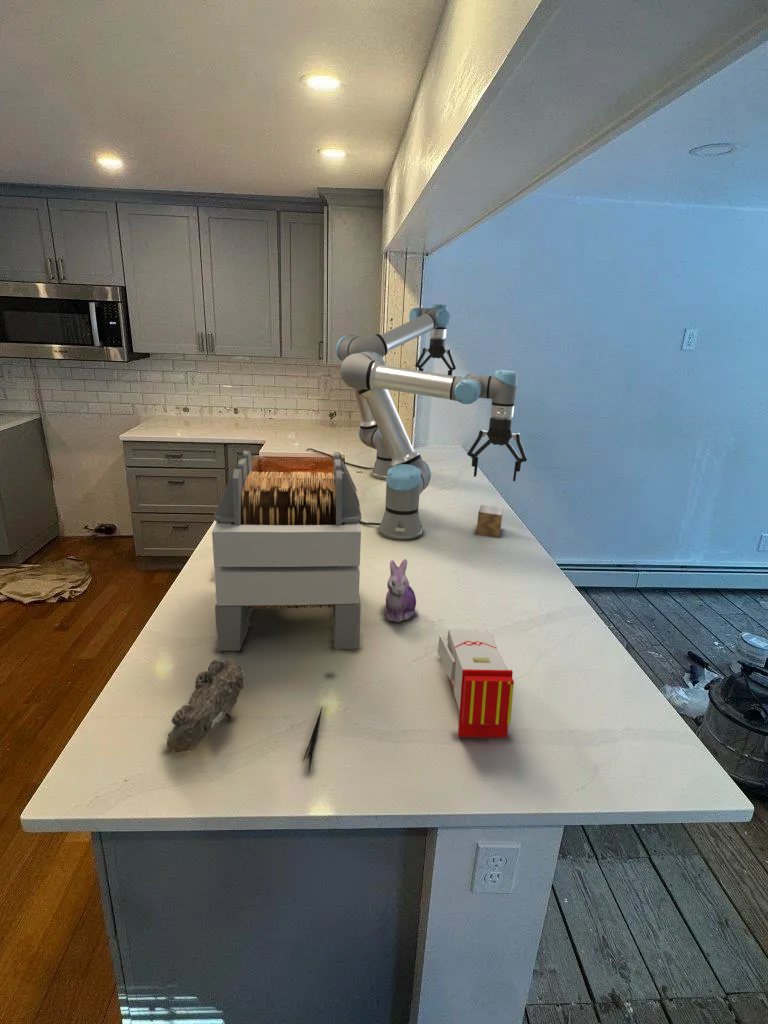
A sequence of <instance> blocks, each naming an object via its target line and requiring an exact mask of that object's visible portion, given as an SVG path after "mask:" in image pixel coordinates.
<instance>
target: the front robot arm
mask: <svg viewBox="0 0 768 1024" xmlns="http://www.w3.org/2000/svg"><path fill="white" fill-rule="evenodd" d="M339 371H340V372H339V373H340V377H341V380H342V381H343V383H345V384H346V385H347V386H348V387H350V388H352V389H353V388H356V389H357V391H358V393H359V395H360V396H361V397H363V398H365V399H366V401H367V403H368V405H369V408H370V410H371V412H372V415H373V417H374V419H375V421H376V424H377V426H378V428H379V431H380V433H381V435H382V437H383V440H384V442H385V444H386V447H387V449H388V451H389V453H390V456H391V458H392V462H391V465H390V466H391V468H390V469H389V470H388V472H387V477H386V480H385V483H386V484H385V504H384V505H385V507H384V508H385V509H384V513H383V515H382V519H381V522H370V521H369V522H367V521H362V520H361V521H359V524H360V525H365V526H378V533H379V534H380V535H381V536H382V537H385V538H387V539H389V540H395V541H410V540H415V539H418V538H420V537H421V536H422V535H423V525H422V524H421V518H420V515H419V507H420V506H419V505H420V496H421V494H422V493H423V492H424V490H426V489H427V488H428V486H429V484H430V482H431V480H432V471H431V467H430V466H429V464H428V463H427V462H426V461H425V460H423V458H422V455H421V453H420V452H419V451H417V450H414V447H413V445H412V443H411V440H410V437H409V436H408V434H407V430H406V429H405V427H404V424H403V422H402V419H401V418H400V415H399V413H398V410H397V408H396V406H395V403H394V401H393V398H392V396H391V394H390V392H389V391H394V392H400V393H406V394H413V395H418V396H423V397H424V396H425V397H432V398H438V399H443V400H450V401H454V402H458V403H460V404H461V405H472V404H473V403H475V402H477V400H478V399H486V400H491V405H490V406H491V407H490V417H489V423H488V424H489V425H488V430H484V429H480V430H478V435H477V437H476V439H475V440H474V442H473V443H472V444H471V445H472V446H470V448H469V450H468V452H467V454H466V455H467V456H468V457H471V467H474V468H473V477H474V478H476V477H477V475H478V466H479V455H480V454H481V453H482V452H483V451H484V450H485V449H486V448H488V446H490V445H491V444H492V445H494V446H497V445H498V446H502V447H503V446H505V447H506V448H507V449H508V451H509V452H510V453H511V455H512V457H514V459H515V463H514V470H513V476H512V477H513V478H512V482H516V480H517V479H516V478H517V472H520V471H521V467H522V463H524V462H527V461H528V456H527V454H526V451H525V448H524V446H523V443H522V440H521V433H520V432H517V433H512V427H513V417H514V412H515V410H514V409H515V401H516V396H517V395H516V394H517V387H518V373H517V372H516V371H513V370H507V369H505V370H503V369H498V370H496V371H495V372H494V374H493V375H483V374H482V375H481V374H471V373H461V374H459V375H458V376H455V375H452V376H450V375H448V374H442V373H438V372H437V373H436V372H429V371H424V370H423V371H419V369H410V368H404V367H398V366H391V365H387V364H386V362H385V360H384V359H383V357H381V356H380V355H378V354H376V353H374V352H370V351H364V352H361V353H355V354H351V355H349V356H348V357H346V358H345V359H344V361H343V362H342V361H341V365H340V370H339ZM485 436H487V438H488V439H487V440H486V441H485V442H484V443H483V444H482V445H481V446H480V447H479V448H478V449H477V450H476V451H475V449H476V447H477V446H478V444H479V443H480V441H481V440H482V438H484V437H485ZM512 438H513V440H514V441H515V442H516V445H517V447H518V451H519V453H520V455H521V456H520V455H519V453H518V452H517V450H516V449H515V447H514V446H513V444H512V443H511V441H510V440H511V439H512Z"/></svg>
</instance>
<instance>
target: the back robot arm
mask: <svg viewBox="0 0 768 1024" xmlns="http://www.w3.org/2000/svg"><path fill="white" fill-rule="evenodd" d="M408 315H409V316H408V319H409V321H407V322H405V323H403V324H401V325H398V326H397V327H394V328H392V329H389V330H388V331H386V332H384V333H382V334H380V333H376V334H374V335H371V336H358V335H354V334H348V335H344V336H341V337H340V338H339V339H338V341H337V342H336V345H335V355H336V356H337V358H338V359H339V360H340V361H341V363H342V362H343V361H344V359H345V358H346V357H348V356H349V355H351V354H355V353H361V352H364V351H370V352H374V353H376V354H378V355H380V356H381V357H382V358H383V357H385V356H387V355H388V353H389V351H391V350H394V349H395V348H398V347H399V346H402V345H404V344H406V343H408V342H410V341H412V340H415V339H416V338H419V337H420V336H423V335H424V334H426V333H428V332H430V335H429V337H430V338H429V346H428V348H427V347H423V348H422V350H421V351H422V352H421V354H420V356H419V358H418V359H417V361H416V363H415V365H414V366H415V368H418V371H424V366H425V365H426V364H427V363H428V361H429V360H430V359H441V360H442V362H444V364H445V365H446V367H447V369H448V370H447V375H450V376H453V373H454V372H453V371H455V370H457V368H458V367H457V365H456V362H455V360H454V357H453V354H452V349H450V348H449V349H446V339H445V338H446V337H447V326H448V325H449V324H450V322H451V313H450V312H449V310H448V305H447V304H437V303H435V304H432V306H431V308H430V307H413V308H411V309H410V311H409V314H408ZM427 353H429V354H428V356H427V357H426V358H425V359H424V360H423V358H424V357H425V355H426V354H427ZM445 354H447V356H448V358H449V361H450V362H449V361H448V360H447V358H446V356H445ZM422 360H423V361H422ZM352 390H353V393H354V397H355V401H356V405H357V409H358V412H359V416H360V419H361V420H360V421H359V429H358V438H359V440H360V441H361V443H362V444H364V445H365V446H367V447H369V448H372V449H374V450H376V459H375V462H374V465H373V467H368V466H361V465H357V464H353V463H349V462H347V461H344V463H345V465H349V466H352V467H356V468H360V469H364V470H365V469H366V470H371V476H372V477H373V478H375V479H377V480H383V481H386V477H387V472H388V470H389V469H390V468H391V466H390V465H391V462H392V458H391V456H390V453H389V451H388V449H387V447H386V444H385V442H384V440H383V437H382V435H381V433H380V431H379V428H378V426H377V424H376V421H375V419H374V417H373V415H372V412H371V410H370V408H369V405H368V403H367V401H366V399H365V398H363V397H361V396H360V395H359V393H358V391H357V389H356V388H352ZM305 451H307V452H308V451H313V452H315V453H319V454H323V455H326V456H328V457H330V458H332V459H334V455H331V454H330V453H326V452H323V451H320V450H317V449H314V448H311V447H309V448H307V449H306V450H305Z"/></svg>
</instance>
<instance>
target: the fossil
mask: <svg viewBox="0 0 768 1024" xmlns="http://www.w3.org/2000/svg"><path fill="white" fill-rule="evenodd" d="M243 670H244V669H243V667H242V665H240V664H237V662H236V661H235V660H234V659H232V658H231V659H227V658H226V659H224V660H223V661H222V660H217V659H212V660H211V661H210V663H209V665H208V666H207V671H201V672H199V673H198V674H197V675H196V676H195V680H194V684H195V685H194V687H195V689H194V690H193V693H192V694H191V697H190V698H189V700H188V704H184V705H182V706H181V707H180V709H177V710H176V711H175V713H174V715H173V716H172V718H171V723H172V724H173V727H172V730H171V731H170V732H168V734H167V738H166V741H167V742H166V745H167V749H168V750H169V751H173V752H174V753H176V754H178V753H182V752H188V751H189V752H192V751H193V750H195V748H196V747H197V746H199V744H200V743H201V742H203V741H204V740H205V739H206V738H207V737H208V736H209V735H210V734H211V733H212V732H214V730H215V729H217V727H218V726H219V724H220V722H221V721H222V720H223V719H224V718H225V716H226V717H227V719H229V720H233V717H232V715H230V714H229V710H230V709H231V708H234V706H235V704H236V703H237V702H238V699H239V697H240V695H241V693H242V691H243V690H245V689H244V688H245V675H244V671H243Z"/></svg>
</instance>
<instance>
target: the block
mask: <svg viewBox="0 0 768 1024" xmlns="http://www.w3.org/2000/svg"><path fill="white" fill-rule="evenodd" d="M477 513H478V514H477V522H476V531H475V534H476V535H478V536H479V535H480V536H486V537H493V538H500V534H501V529H502V522H503V516H504V515H503V513H504V507H502V506H494V505H485V504H480V507H479V509H478V512H477Z"/></svg>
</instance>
